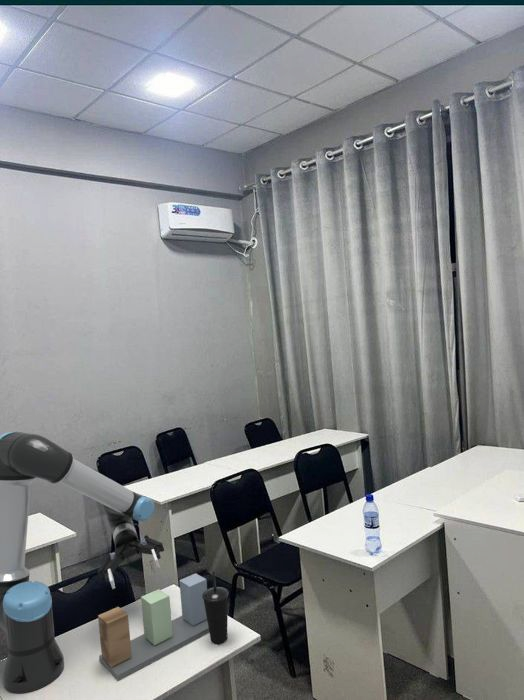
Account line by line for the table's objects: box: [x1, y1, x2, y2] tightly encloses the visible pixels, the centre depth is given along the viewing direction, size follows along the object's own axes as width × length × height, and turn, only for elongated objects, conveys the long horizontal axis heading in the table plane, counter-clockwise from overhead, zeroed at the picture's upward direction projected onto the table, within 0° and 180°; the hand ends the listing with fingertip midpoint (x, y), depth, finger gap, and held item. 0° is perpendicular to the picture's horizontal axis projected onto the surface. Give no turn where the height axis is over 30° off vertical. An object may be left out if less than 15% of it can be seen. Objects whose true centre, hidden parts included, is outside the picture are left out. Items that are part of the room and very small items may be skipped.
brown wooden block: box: [97, 606, 132, 667], centre depth 142 cm, size 6×6×12 cm
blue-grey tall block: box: [178, 573, 208, 626], centre depth 159 cm, size 6×6×12 cm
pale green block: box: [140, 588, 173, 645], centre depth 151 cm, size 6×6×12 cm
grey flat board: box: [98, 615, 210, 681], centre depth 150 cm, size 12×32×2 cm, turn 130°
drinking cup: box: [202, 571, 230, 645], centre depth 150 cm, size 8×8×20 cm
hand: (135, 574), depth 152 cm, fingers open, 13 cm apart
